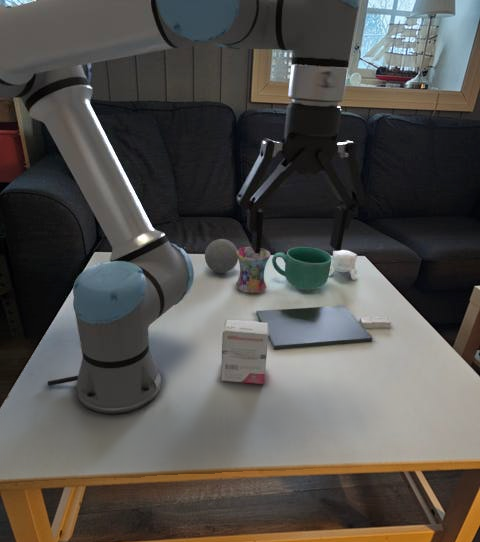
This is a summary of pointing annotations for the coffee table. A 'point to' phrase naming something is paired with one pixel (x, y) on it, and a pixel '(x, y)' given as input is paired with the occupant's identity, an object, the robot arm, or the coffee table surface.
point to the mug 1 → (252, 269)
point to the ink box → (244, 351)
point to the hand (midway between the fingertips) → (296, 249)
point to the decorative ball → (221, 256)
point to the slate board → (312, 327)
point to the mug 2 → (305, 267)
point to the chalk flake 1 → (365, 322)
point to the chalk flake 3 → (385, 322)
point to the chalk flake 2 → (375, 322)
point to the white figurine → (343, 262)
